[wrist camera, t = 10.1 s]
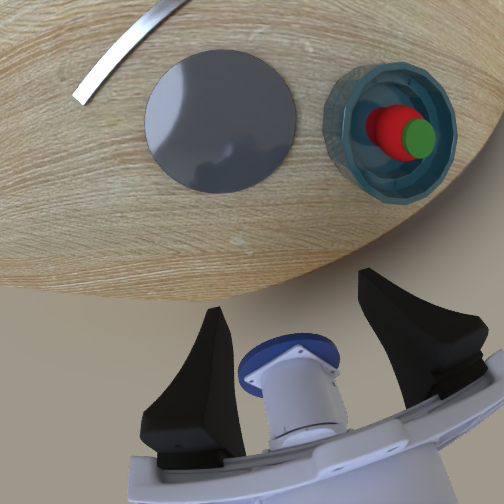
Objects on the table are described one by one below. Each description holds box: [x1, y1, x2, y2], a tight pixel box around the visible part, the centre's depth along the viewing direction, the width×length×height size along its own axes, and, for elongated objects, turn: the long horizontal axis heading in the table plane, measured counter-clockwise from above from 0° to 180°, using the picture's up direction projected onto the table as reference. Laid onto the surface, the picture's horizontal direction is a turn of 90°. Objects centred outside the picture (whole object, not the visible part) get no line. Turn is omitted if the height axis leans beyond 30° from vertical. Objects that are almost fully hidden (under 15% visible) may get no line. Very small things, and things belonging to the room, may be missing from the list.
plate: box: [144, 50, 296, 193], centre depth 17 cm, size 10×10×1 cm
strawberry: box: [366, 105, 436, 161], centre depth 16 cm, size 4×4×5 cm
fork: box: [72, 0, 189, 106], centre depth 13 cm, size 18×2×1 cm, turn 132°
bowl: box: [322, 62, 458, 205], centre depth 17 cm, size 10×10×4 cm
